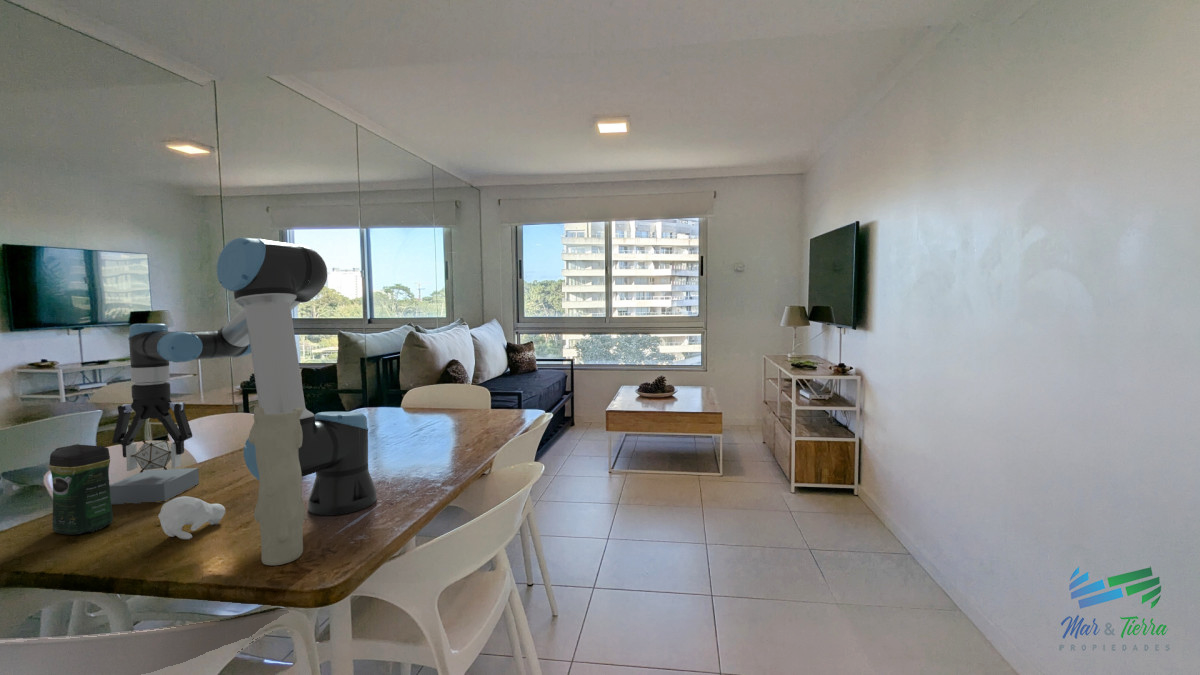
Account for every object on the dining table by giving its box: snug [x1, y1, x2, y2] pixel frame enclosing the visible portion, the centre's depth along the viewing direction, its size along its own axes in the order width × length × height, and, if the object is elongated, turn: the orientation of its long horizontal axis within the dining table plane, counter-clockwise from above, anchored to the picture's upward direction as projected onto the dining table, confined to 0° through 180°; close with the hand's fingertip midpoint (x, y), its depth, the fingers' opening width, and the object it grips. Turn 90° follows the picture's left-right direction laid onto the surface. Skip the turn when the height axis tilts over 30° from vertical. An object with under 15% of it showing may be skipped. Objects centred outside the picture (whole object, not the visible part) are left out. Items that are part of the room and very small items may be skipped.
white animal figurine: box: [157, 495, 226, 540], centre depth 109 cm, size 6×8×12 cm
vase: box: [248, 406, 306, 566], centre depth 97 cm, size 9×8×30 cm
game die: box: [131, 437, 171, 473], centre depth 131 cm, size 9×8×10 cm
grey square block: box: [109, 467, 200, 505], centre depth 131 cm, size 13×13×5 cm
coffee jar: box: [48, 443, 114, 536], centre depth 110 cm, size 10×8×19 cm
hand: (154, 467), depth 131 cm, fingers closed on game die, 9 cm apart
